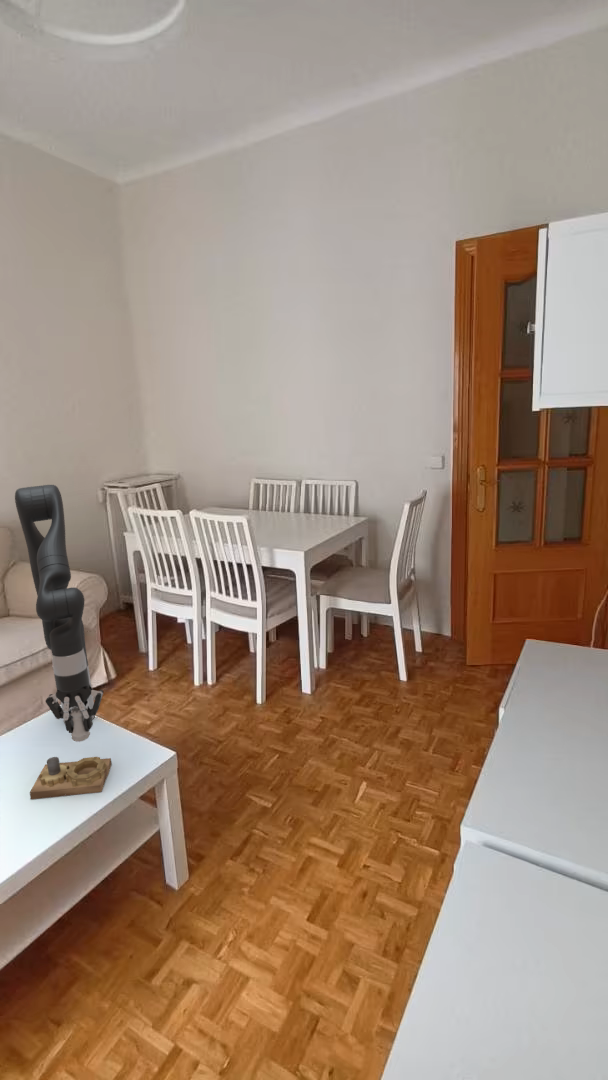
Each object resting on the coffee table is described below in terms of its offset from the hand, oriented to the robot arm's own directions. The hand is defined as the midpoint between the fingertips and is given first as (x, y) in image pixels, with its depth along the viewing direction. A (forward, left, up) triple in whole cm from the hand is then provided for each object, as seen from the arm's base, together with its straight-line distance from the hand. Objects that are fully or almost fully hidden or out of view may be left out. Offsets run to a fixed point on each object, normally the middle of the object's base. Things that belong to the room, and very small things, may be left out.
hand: (79, 730), depth 139 cm
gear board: (-1, -4, -15) cm, 15 cm away
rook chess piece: (0, 0, -2) cm, 2 cm away
